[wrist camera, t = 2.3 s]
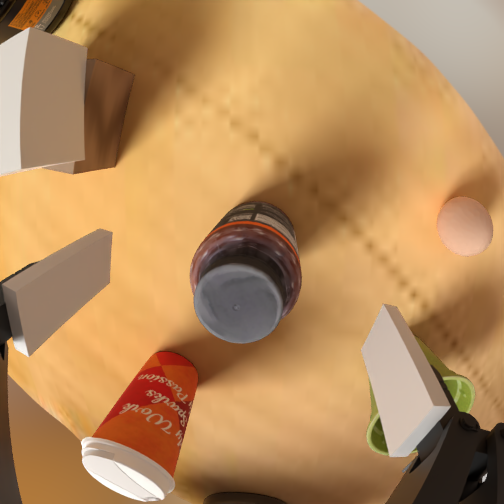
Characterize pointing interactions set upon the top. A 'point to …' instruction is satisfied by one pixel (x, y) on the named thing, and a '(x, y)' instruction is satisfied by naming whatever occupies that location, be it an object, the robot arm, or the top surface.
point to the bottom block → (101, 116)
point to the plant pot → (456, 385)
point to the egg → (464, 226)
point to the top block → (41, 101)
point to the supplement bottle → (246, 273)
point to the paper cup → (144, 430)
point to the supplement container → (30, 16)
